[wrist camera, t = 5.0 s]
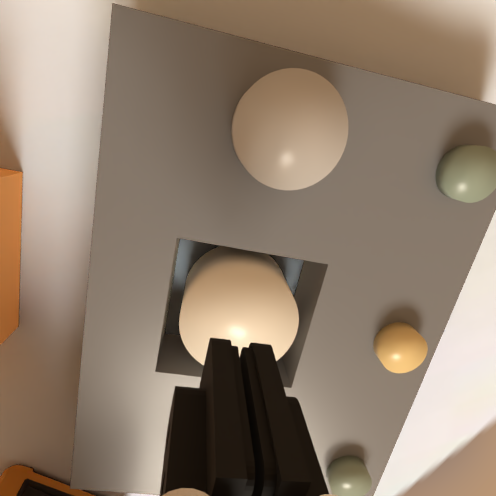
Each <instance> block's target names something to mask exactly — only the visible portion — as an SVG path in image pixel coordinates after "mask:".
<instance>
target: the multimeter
mask: <svg viewBox="0 0 496 496" xmlns="http://www.w3.org/2000/svg"><path fill="white" fill-rule="evenodd" d="M0 496H95V495H93V494H90V493H87V492H85V491H82V490H79V489H70V486H69V485H66V484H63V483H61V482H58V481H55V480H53V479H50V478H47V477H45V476H42V475H40V474H37V473H34V472H33V468H29V467H26V466H22V465H13V466H11V467H9V468H7V469H5V471H4V472H3V473H2V475H1V476H0Z"/></svg>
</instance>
